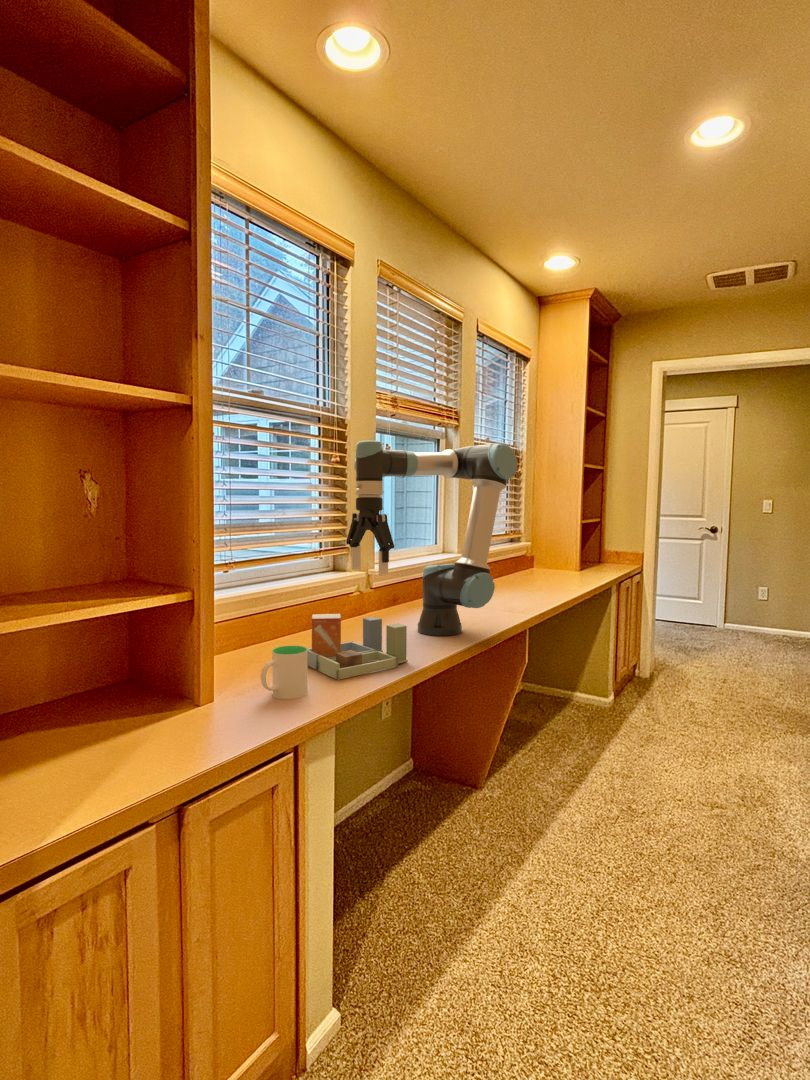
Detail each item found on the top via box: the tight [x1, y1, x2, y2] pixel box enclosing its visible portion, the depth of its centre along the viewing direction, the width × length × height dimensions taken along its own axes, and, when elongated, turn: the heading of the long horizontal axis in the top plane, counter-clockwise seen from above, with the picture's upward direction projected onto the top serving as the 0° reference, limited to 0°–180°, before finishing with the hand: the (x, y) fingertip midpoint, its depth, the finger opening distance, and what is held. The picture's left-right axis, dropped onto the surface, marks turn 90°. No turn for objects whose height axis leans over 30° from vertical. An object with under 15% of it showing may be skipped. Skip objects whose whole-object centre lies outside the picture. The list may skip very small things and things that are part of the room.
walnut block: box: [336, 650, 363, 668], centre depth 157 cm, size 5×5×5 cm
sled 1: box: [294, 616, 384, 671], centre depth 170 cm, size 24×13×10 cm, turn 127°
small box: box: [311, 613, 342, 658], centre depth 167 cm, size 8×6×13 cm
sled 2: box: [317, 623, 409, 680], centre depth 160 cm, size 24×10×10 cm, turn 127°
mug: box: [260, 645, 309, 700], centre depth 138 cm, size 12×8×10 cm, turn 144°
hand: (369, 571), depth 169 cm, fingers open, 13 cm apart
